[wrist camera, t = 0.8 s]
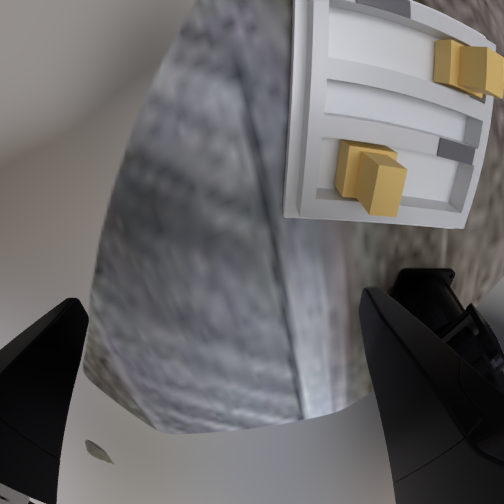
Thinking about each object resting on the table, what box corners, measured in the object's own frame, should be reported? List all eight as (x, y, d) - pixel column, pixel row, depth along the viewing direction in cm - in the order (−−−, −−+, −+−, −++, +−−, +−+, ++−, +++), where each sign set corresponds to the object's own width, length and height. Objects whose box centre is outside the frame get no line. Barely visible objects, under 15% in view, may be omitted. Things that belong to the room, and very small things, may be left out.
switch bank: (476, 36, 10) (502, 37, 8) (446, 221, 19) (466, 242, 17) (292, -21, 10) (299, -40, 8) (282, 209, 19) (286, 232, 17)
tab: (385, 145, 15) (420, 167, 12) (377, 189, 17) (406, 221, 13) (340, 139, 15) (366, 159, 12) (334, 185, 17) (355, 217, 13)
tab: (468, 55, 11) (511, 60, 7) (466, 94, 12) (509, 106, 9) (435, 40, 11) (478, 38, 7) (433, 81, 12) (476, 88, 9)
